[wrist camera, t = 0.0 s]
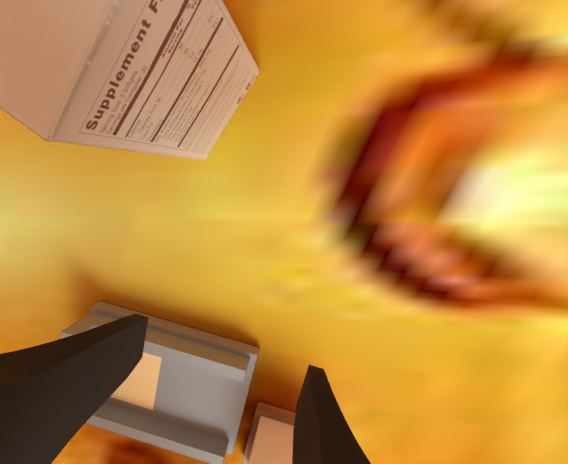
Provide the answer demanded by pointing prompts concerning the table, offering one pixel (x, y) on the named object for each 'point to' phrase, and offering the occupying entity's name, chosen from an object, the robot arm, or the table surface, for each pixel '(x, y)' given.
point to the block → (272, 443)
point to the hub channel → (177, 387)
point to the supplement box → (124, 72)
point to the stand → (267, 412)
